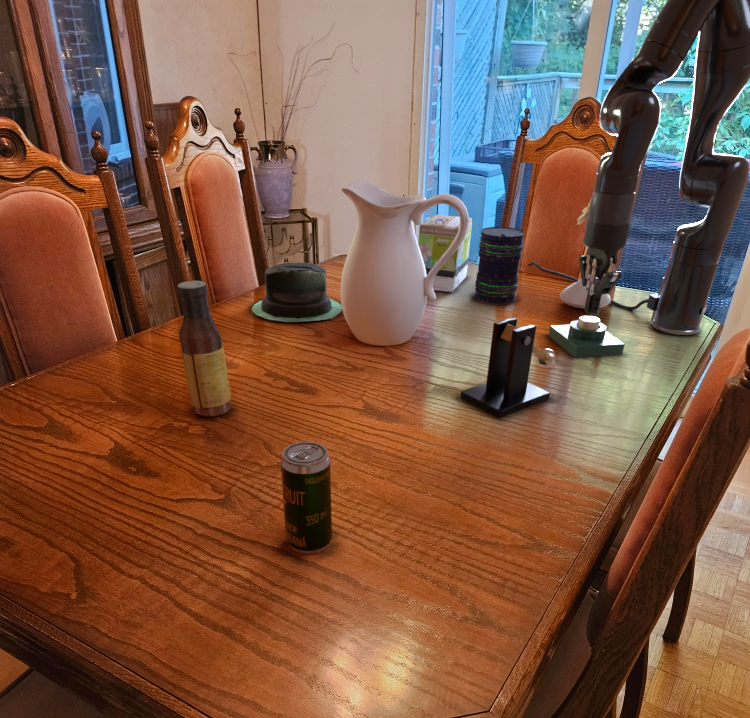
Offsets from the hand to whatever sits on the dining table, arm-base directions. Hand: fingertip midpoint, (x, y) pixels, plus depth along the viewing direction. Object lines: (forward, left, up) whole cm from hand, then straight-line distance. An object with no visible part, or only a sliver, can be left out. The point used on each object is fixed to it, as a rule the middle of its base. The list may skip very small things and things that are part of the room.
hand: (590, 312), depth 130 cm
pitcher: (-9, -36, -7) cm, 38 cm away
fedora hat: (-31, -54, -7) cm, 63 cm away
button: (0, 0, -3) cm, 3 cm away
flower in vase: (-23, +11, -7) cm, 26 cm away
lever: (+20, -22, 0) cm, 29 cm away
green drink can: (+54, -62, -7) cm, 83 cm away
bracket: (+21, -25, -7) cm, 34 cm away
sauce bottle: (+17, -73, -7) cm, 76 cm away
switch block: (0, 0, -6) cm, 6 cm away
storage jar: (-32, -7, -7) cm, 33 cm away
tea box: (-46, -16, -7) cm, 49 cm away
